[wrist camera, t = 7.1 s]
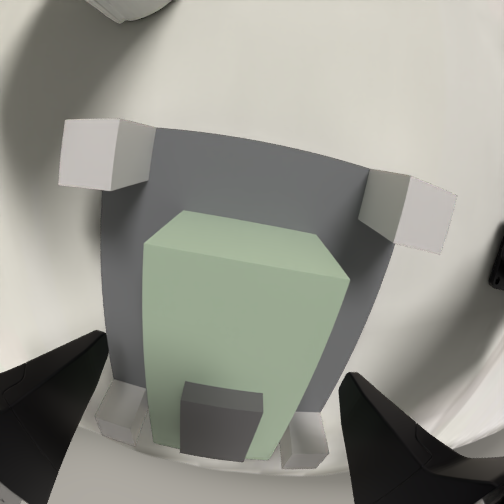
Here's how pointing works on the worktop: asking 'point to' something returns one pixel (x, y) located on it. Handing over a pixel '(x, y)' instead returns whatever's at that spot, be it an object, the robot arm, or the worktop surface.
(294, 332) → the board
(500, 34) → the worktop surface
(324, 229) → the chassis
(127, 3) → the photo printer
